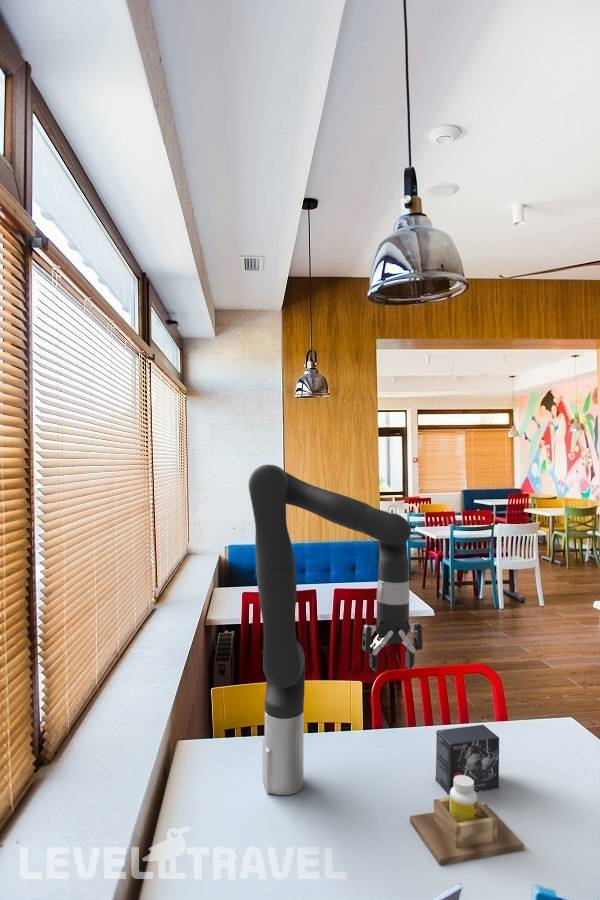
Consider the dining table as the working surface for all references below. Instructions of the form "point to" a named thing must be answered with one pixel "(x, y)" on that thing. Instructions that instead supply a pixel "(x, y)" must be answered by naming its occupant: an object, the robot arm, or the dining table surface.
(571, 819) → the dining table surface
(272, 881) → the dining table surface
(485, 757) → the small box
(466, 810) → the supplement bottle
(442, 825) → the holder stand
